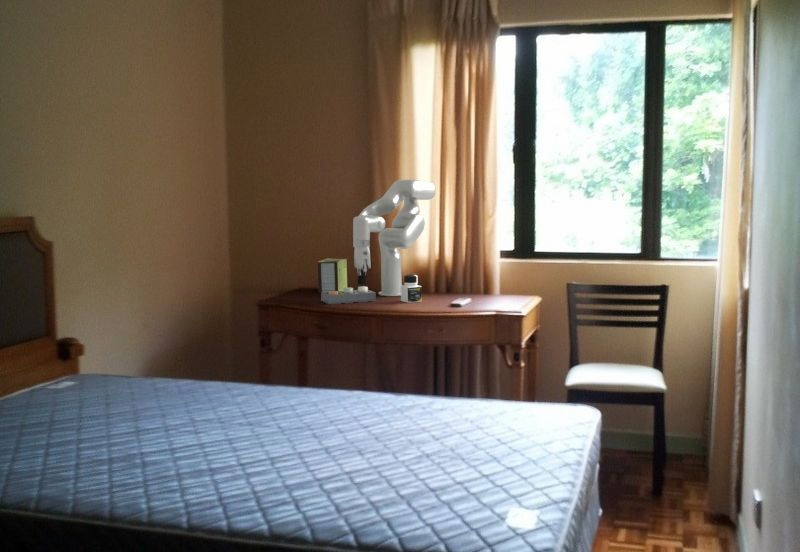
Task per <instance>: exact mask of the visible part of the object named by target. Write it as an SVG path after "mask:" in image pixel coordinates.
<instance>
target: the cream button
mask: <svg viewBox="0 0 800 552" xmlns="http://www.w3.org/2000/svg"><path fill="white" fill-rule="evenodd" d="M368 287H369V286H364V285H363V286H357V290H358V292H368V290H369V288H368Z"/></svg>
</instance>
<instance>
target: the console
mask: <svg viewBox="0 0 800 552" xmlns="http://www.w3.org/2000/svg"><path fill="white" fill-rule="evenodd" d="M320 296H321V297H320V301H321V302H322V301H323V302H322V303H324V302H325V304H327V305H330V304H331V305H341V303H345V304H354V303H353V302H359V303H369V302H368V301H372V302H377V297H376V296H377V295H376V291H373V290H369V289H368V292H358V289H353V293H343V291H338V294H329V292H321V293H320Z"/></svg>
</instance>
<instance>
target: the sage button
mask: <svg viewBox="0 0 800 552" xmlns="http://www.w3.org/2000/svg"><path fill="white" fill-rule="evenodd" d="M353 290H354V287H351V286H349V287H348V286H347V288H343V293H353Z"/></svg>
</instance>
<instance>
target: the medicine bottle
mask: <svg viewBox="0 0 800 552" xmlns="http://www.w3.org/2000/svg"><path fill="white" fill-rule="evenodd" d="M418 277H419V276H418V275H416V274H406V275H404V277H403V282H404V283H403V284H402V285H401V296H400V302H403V303H408V304H409V303H410V304H411V303H412V304H413V303H421V302H423V300H422V299H423V298H422V297H423V296H422V295H423V291H422V288H423V287H422V285H418V282H419V281H418V280H419V279H418Z"/></svg>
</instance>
